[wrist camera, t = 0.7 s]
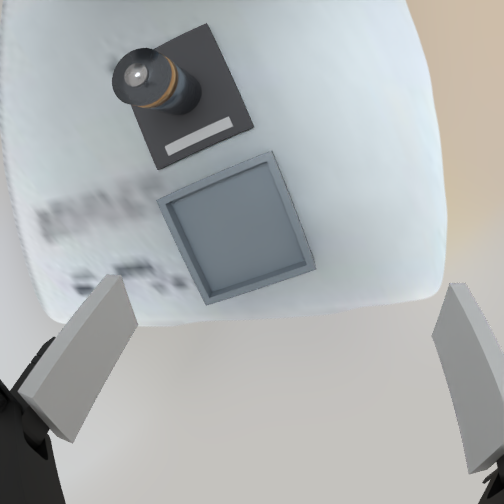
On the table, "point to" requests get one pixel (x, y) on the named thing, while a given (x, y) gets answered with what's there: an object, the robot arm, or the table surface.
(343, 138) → the table surface
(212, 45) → the dark grey pad
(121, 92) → the battery cell
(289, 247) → the tray
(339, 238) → the table surface
